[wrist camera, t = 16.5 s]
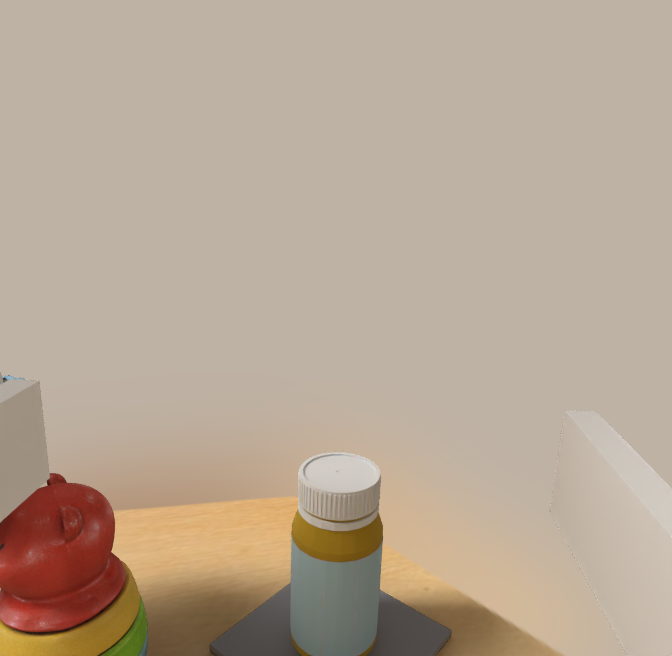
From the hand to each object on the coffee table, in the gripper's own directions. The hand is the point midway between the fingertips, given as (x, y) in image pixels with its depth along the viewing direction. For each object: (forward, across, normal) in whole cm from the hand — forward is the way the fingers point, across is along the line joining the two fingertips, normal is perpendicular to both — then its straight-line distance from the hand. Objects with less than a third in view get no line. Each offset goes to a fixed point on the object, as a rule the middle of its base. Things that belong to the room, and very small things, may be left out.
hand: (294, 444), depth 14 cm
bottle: (+25, 0, -30) cm, 38 cm away
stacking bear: (+16, -17, -30) cm, 38 cm away
